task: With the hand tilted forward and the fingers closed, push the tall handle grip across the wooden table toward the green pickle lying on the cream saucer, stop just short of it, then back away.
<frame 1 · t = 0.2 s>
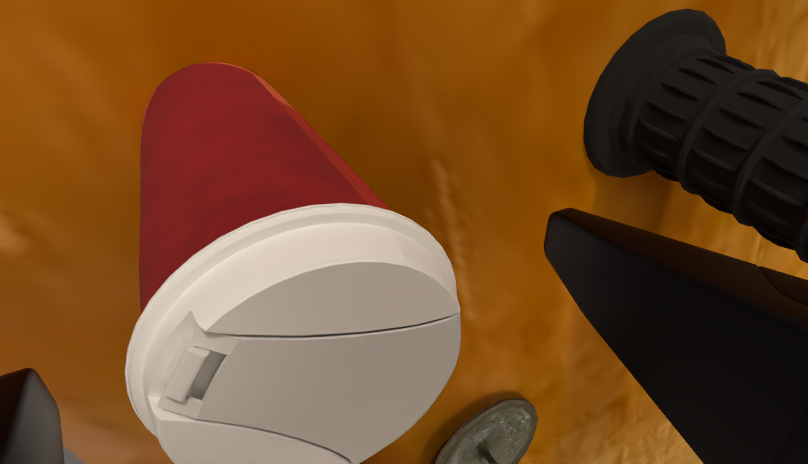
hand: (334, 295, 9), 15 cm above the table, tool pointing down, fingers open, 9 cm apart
handle grip: (652, 98, 32), on the table
lid: (474, 432, 45), on the table
paper cup: (218, 128, 22), on the table
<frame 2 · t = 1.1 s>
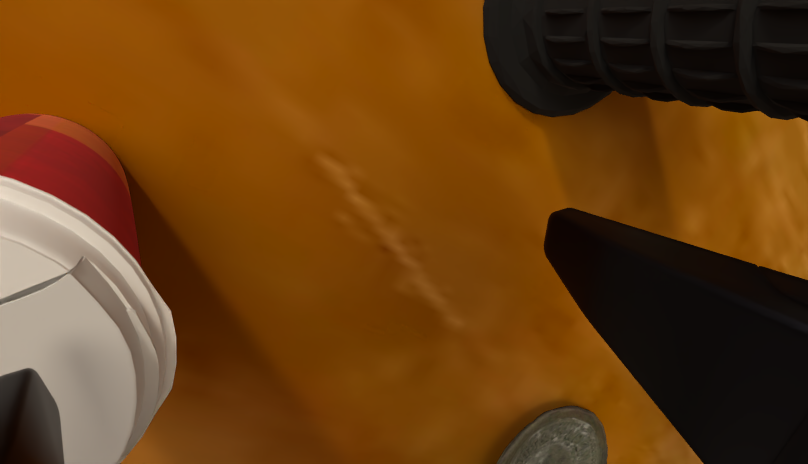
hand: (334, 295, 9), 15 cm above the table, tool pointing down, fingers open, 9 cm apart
handle grip: (567, 13, 27), on the table
lid: (532, 460, 38), on the table
paper cup: (47, 186, 21), on the table
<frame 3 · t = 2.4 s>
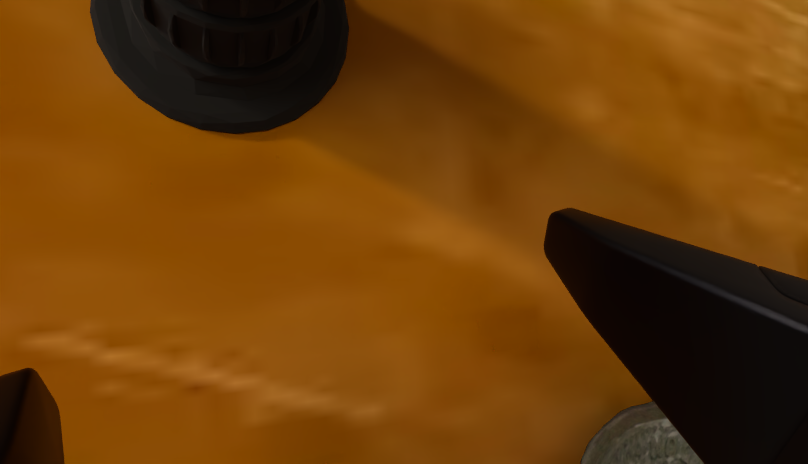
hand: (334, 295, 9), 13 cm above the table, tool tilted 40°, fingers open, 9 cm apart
handle grip: (228, 17, 23), on the table
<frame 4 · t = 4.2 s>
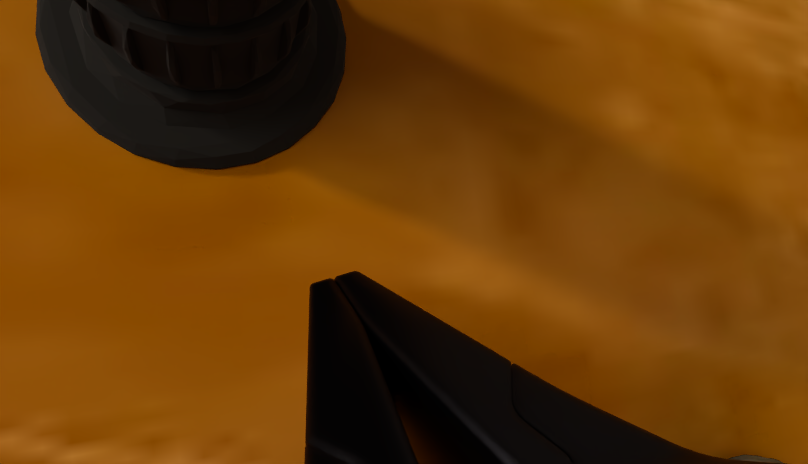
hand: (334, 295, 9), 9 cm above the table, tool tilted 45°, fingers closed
handle grip: (203, 32, 19), on the table
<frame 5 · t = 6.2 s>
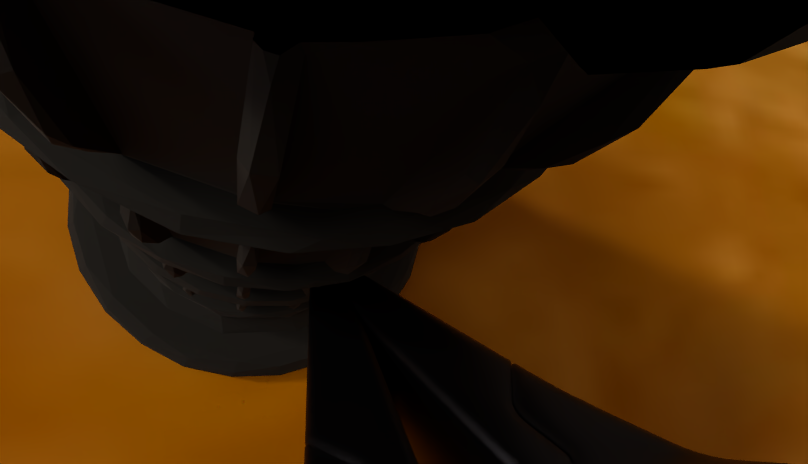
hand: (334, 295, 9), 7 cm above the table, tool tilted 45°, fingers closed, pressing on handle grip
handle grip: (260, 202, 16), on the table, touching gripper
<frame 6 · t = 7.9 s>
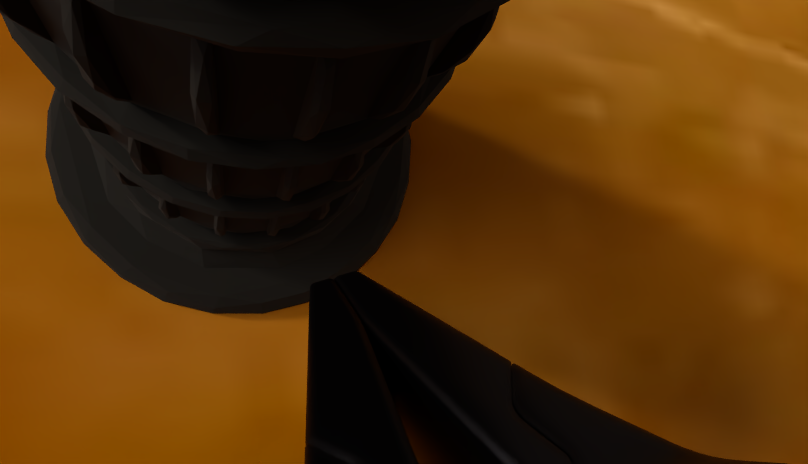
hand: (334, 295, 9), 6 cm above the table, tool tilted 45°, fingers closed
handle grip: (244, 140, 16), on the table
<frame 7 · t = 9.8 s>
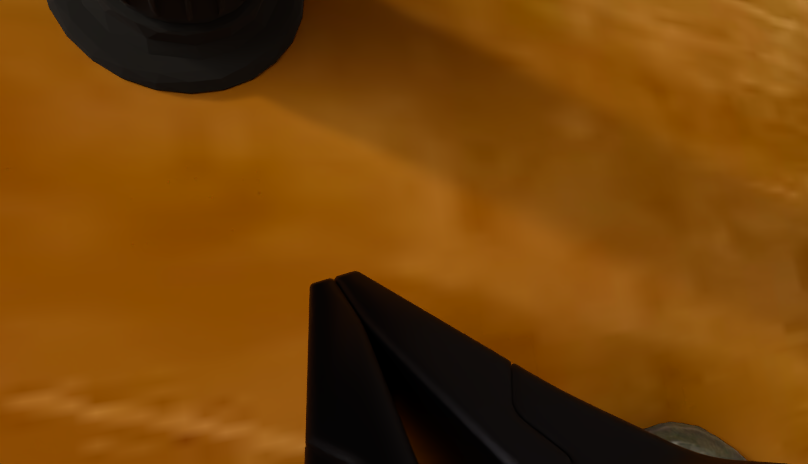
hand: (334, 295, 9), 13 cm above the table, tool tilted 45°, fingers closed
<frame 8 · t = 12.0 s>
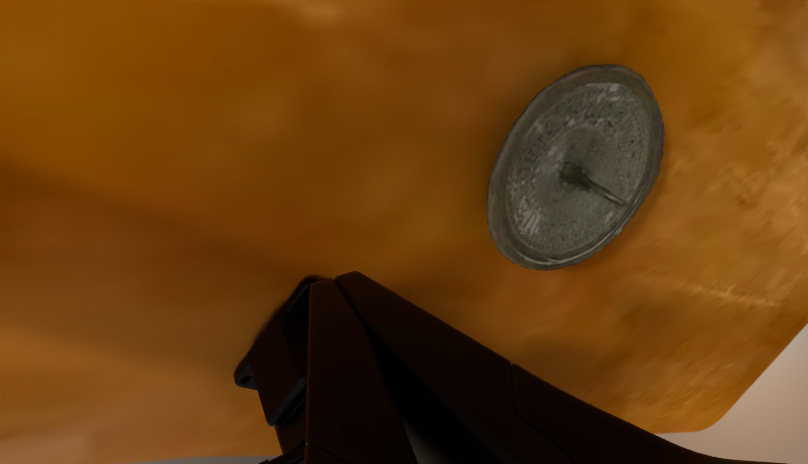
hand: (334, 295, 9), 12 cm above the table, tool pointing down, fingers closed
lid: (555, 158, 28), on the table
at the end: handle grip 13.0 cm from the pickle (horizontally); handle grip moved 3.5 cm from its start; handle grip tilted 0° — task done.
